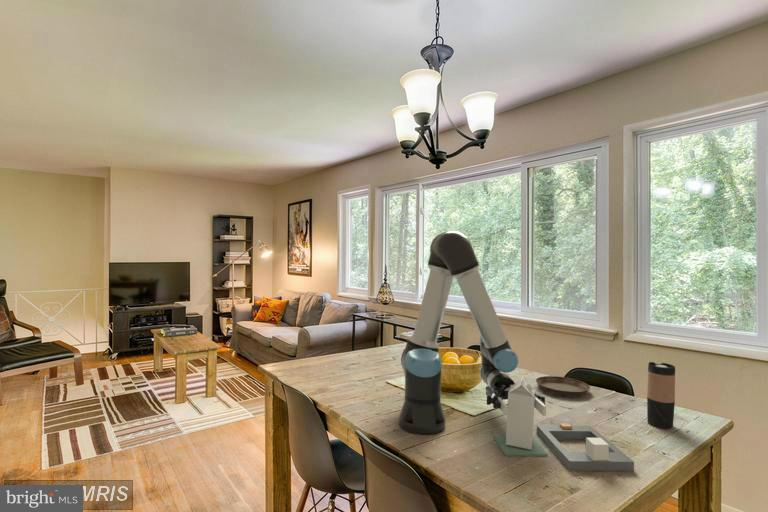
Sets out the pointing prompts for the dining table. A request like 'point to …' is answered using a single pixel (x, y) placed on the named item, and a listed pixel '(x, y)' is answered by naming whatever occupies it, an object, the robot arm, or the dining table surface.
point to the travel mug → (661, 395)
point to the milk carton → (520, 415)
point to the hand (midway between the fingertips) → (525, 410)
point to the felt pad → (518, 451)
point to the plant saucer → (562, 386)
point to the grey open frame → (597, 449)
